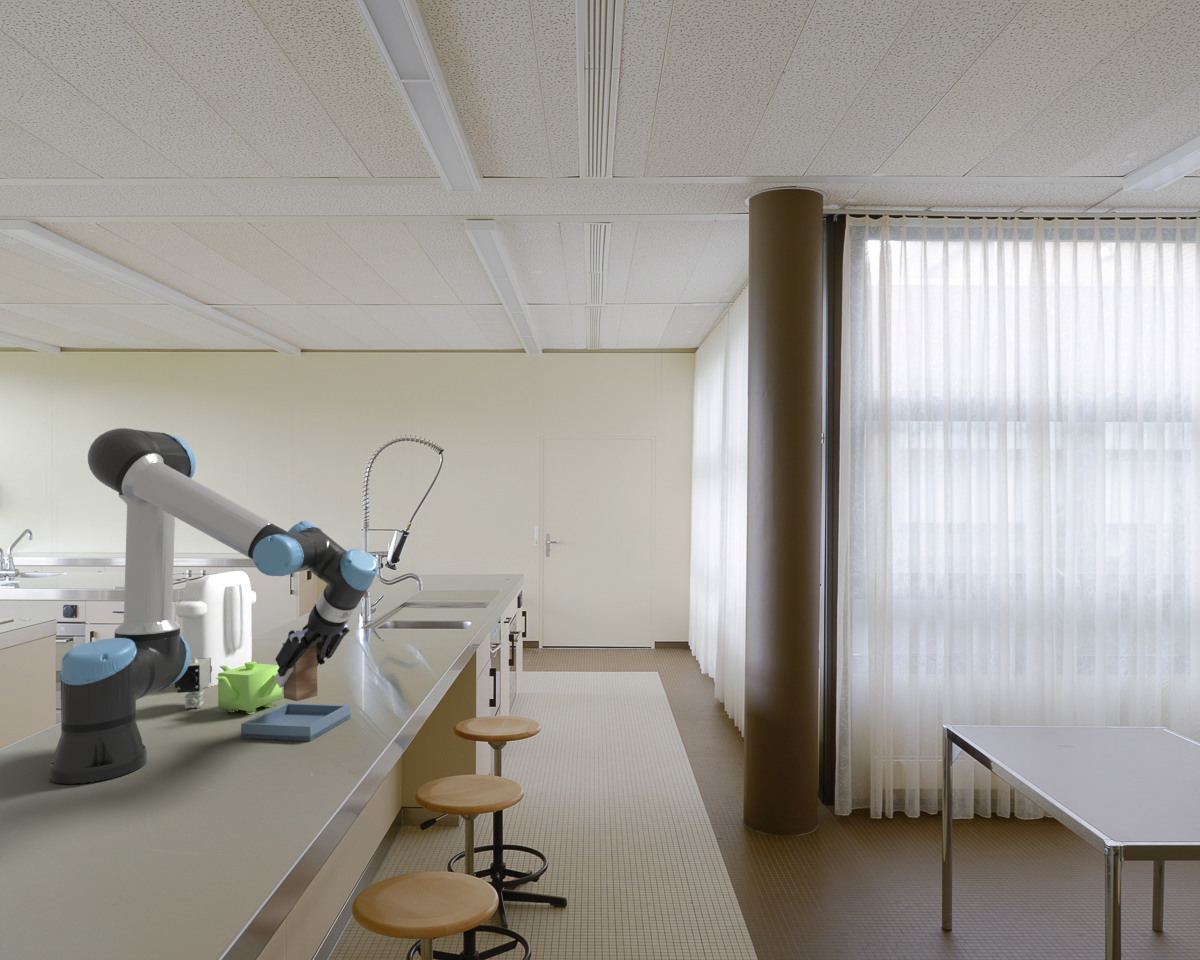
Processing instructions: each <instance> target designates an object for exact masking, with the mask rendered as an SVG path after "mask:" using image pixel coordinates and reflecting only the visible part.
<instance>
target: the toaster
mask: <svg viewBox="0 0 1200 960" xmlns="http://www.w3.org/2000/svg"><path fill="white" fill-rule="evenodd" d="M249 577H250V576H248V574H247V573H246V572H245V571H243V570H231V571H226V572H219V573H218V572H217V573H212V574H207V575H204V576H202V577H200V578H196V579H194V580H187V581H186V582H185V585H184V588H183V594H182V601H180V602H178V603H177V604H176V606H175V615H176V617H178V618H182V637H183V638H184V641H185V642H187V643H188V645H189V648H190V659H193V658H194V657H197V659H199V658H211V667H212V672H211V683H209V684H208V685H207V686H205V687H204V688H203V689H207V688H206V687H209V688H212V687H211V686H213V687H215V686H214V685H216V686H218V685H217V684H218V679H216V677H218V673H220V672H224V671H223V669H222V668H221V667H219V666H228V667H229V668H230V669H234V668H238V667H241V666H245V663H247V662H252V659H253V657H252V655H253V653H252V652H253V645H252V644H253V643H252V642H253V641H252V640H253V639H252V637H253V635H252V630H253V629H252V622H253V621H252V619H253V618H252V617H253V616H252V605H254V604H255V603H256V602H257V593H256V591H254V590H252V585H251V579H250V578H249Z"/></svg>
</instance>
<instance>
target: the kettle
mask: <svg viewBox="0 0 1200 960" xmlns="http://www.w3.org/2000/svg"><path fill="white" fill-rule="evenodd" d="M219 667H221V668H222V669H223V671H224V672H220V673H218V677H216V679H218V685H217V689H218V690H217V696H218V697H217V700H218V701H217V703H218V704H217V706H218V708H219V709H226V710H228V711H229V712H233V711H237V710H238V711H245V714H246V713H252V712H255V711H256V712H257V708H260V707H262V708H263V707H269V706H272V705H273V704H272V703H274V702H276V701H280V700H282V699H283V687H281V688H279V686H278V684H277V682H276V680H275V677H276V675H277V673H278V672H277V670H278V669H279V666H278V664H267V663H257V661H251V662H247V663H245V666H241V667H238V668H234V669H230V668H229V667H228V666H219ZM238 711H237V712H238ZM233 713H234V712H233Z"/></svg>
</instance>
